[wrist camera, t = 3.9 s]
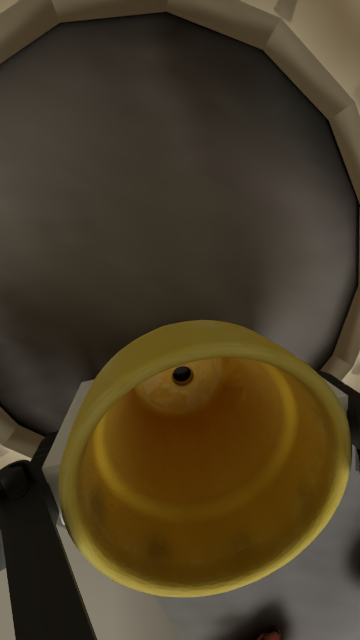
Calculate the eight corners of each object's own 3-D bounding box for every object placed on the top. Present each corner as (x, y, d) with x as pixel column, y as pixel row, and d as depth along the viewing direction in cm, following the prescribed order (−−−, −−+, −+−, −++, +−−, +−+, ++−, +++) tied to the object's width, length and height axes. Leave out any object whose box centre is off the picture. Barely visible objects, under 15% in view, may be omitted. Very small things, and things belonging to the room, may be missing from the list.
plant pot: (274, 320, 18) (411, 392, 9) (220, 446, 20) (286, 612, 11) (127, 270, 16) (107, 298, 7) (83, 416, 18) (20, 590, 9)
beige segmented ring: (417, -91, 14) (687, -426, 7) (390, 438, 22) (498, 520, 15) (-298, -36, 11) (-1012, -497, 4) (-14, 541, 19) (-96, 694, 13)
